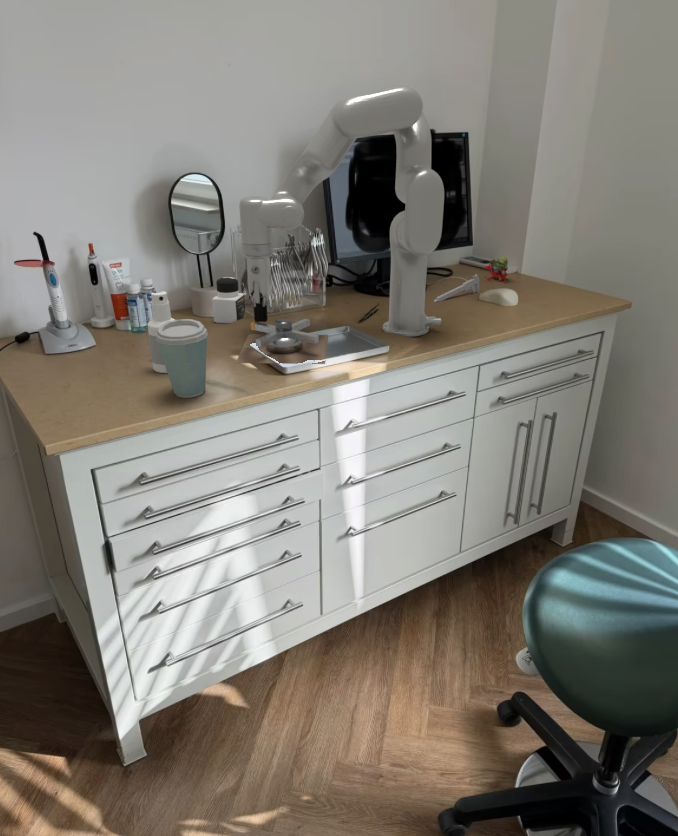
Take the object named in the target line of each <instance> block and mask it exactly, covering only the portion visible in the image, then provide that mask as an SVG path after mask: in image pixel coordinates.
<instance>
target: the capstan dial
mask: <svg viewBox="0 0 678 836" xmlns="http://www.w3.org/2000/svg"><path fill="white" fill-rule="evenodd" d="M292 321H293V320H292V319H288V318H279V319H276V320H275V323H274V324H275V325H272V324H268V323H265V322H256V321H255V320H254V321H252V322H250V330H252V331H258V332H262V333H265V334H266V335H265V336H263V337H260V338H258V339H256V346H258V347H263V346H265V345H266V348H267V350H269V351H271V352H275V353H292V352H296V351H299V350H301V349H302V347H303V341H306V342H310V343H314V344H315V343H317V342H319V335H320V334H315V333H310V332H305V331H301V330H303V329H305V328H308V327H310V326H311V319H309V318H303V319H301V320H298V321H296V322H292Z"/></svg>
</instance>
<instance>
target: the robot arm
mask: <svg viewBox="0 0 678 836" xmlns="http://www.w3.org/2000/svg"><path fill="white" fill-rule="evenodd" d="M423 109H424V104H423V99H422V96H421V94H420V93H419V92H418V91H417V90H416V89H414V88H412V87H409V86H393V87H392V86H391V87H388V88H385V89H384V90H383V91H380V92H374V93H370V94H364V95H359V96H347V97H343V98H340V99H339V100H337V102H336V103H335V104H334V105H333V107H332V108H331V109H330V110H329V113H328V114H327V116H326V117H325V119H324V120H323V122H322V123H321V125H320V126H319V127H318V130H317V131H316V133H315V134H314V136H312V138H311V140H310V141H309V143H308V145H307V146H306V147H305V149H304V151H303V152H302V153H301V155H300V156H299V157H298V159H297V160H296V161H295V162H294V164H293V166H292V167H291V168H290V169H289V171H288V172H287V173H286V175H285V176H284V178H283V180H281V182H280V183H279V185H278V187H277V188H276V190H275V192H274V193H273V195H272V196H271V198H270V199H269V198H267V197H265V196H264V197H263V196H246V197H243V198H241V199H240V201H239V220H240V235H241V236H240V237H241V250H242V251H241V252H242V257H243V258H246V267H247V268H246V271H247V285H248V286H247V287H248V288H247V289H248V295H249V297H250V298H253V317H254V321H256V322H260V323H266V322H267V321H268V305H267V298H268V297H270V295H271V293H272V291H273V280H272V267H271V257H273V256H274V255H273V253H274V252H273V231H272V229H280V230H294V229H296V228H298V227H299V226H300V225H301V224H302V223H303V220H304V219H305V211H304V207H303V204H304V203H305V201H306V200H307V198H308V196H309V195H310V194H312V191H313V190H314V189H315V188H316V187H317V186H318V185H319V184H320V183H322V182H323V181H325V180H326V179H328V178H330V176H332V175H333V174H334V173H335V171H336V170H337V169H338V168H339V165H340V164H341V162H342V161H343V159H344V158H345V157H346V155H347V154H348V152H349V151H350V149H351V147H352V146H353V144H354V143H355V141H356V140H357V139H359V138H360V139H361V138H368V137H373V136H377V135H382V134H387V133H391V132H392V133H393V135H394V139H395V144H396V145H395V146H396V161H395V162H396V163H395V165H396V167H395V184H394V185H395V186H394V190H395V195H396V197H397V198H398V200H399V201H401V202H402V203H403V204H405V208H404V210H403V211H400V212H398V214H396V215H395V216H394V217H393V220H392V221H391V222H390V227H389V243H390V244H389V245H390V275H389V277H390V280H389V301H388V302H389V303H388V304H389V306H388V308H389V309H388V321H386V322H384V323H383V324H382V330H383V331H384V332H385V333H387V334H394V335H399V336H402V337H411V338H412V337H419V336H423V335H426V334H428V332H429V329H430V325H433V326H442V325H441V324H442V318H441V317H436V316H435V315H434V316H432V315H431V316H427V315H426V313H425V304H426V302H425V301H426V285H427V272H428V255H430V254H431V253H432V252H435V250H436V249H437V248H438V246H439V244H440V242H441V238H442V232H443V220H444V205H445V188H444V183H443V180H442V178H441V176H440V175H439V174H438V172H436V171H435V170H434V169H432V133H431V129H430V124H429V122H428V120H427V117H426V116H425V114H424V112H423V111H424V110H423Z"/></svg>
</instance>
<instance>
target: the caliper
mask: <svg viewBox="0 0 678 836" xmlns="http://www.w3.org/2000/svg"><path fill="white" fill-rule="evenodd" d="M478 275H479V274H477V273H475V274H474V275H472V278H471V279H469V280H467V281H465V282H463V283H462V284H461V285H459V286H458V287H455V288H453V289H451V290H449V291H447V292H444V293H443V294H441V295H438V296H437V297H436V298H435V299H434V300H433V301H432V302H434V303H437V302H438V303H439V302H443V301H444V300H446V299H449V298H450V297H452V296H455V295H457V294H459V293H460V292H467V291H469V290H470V292H471V294H472V293H473V294H476V293H479V291H480V284H481V283H480V277H478Z"/></svg>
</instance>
